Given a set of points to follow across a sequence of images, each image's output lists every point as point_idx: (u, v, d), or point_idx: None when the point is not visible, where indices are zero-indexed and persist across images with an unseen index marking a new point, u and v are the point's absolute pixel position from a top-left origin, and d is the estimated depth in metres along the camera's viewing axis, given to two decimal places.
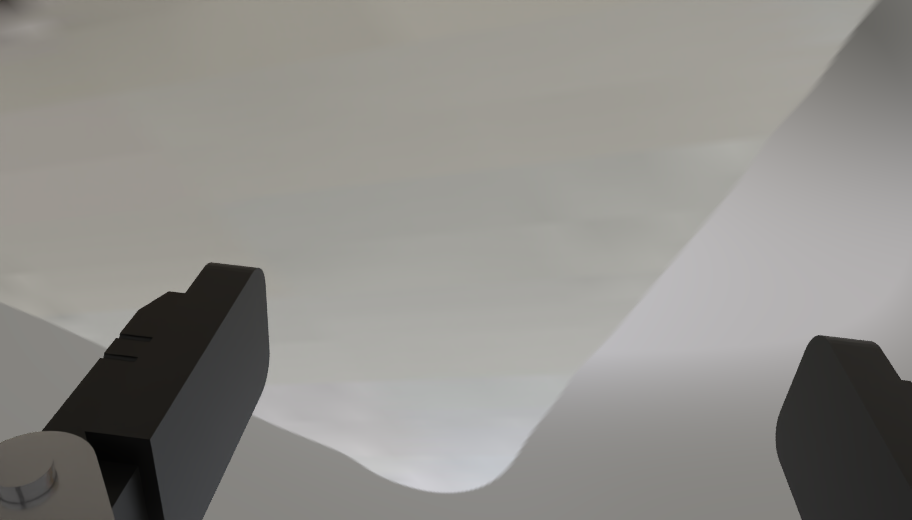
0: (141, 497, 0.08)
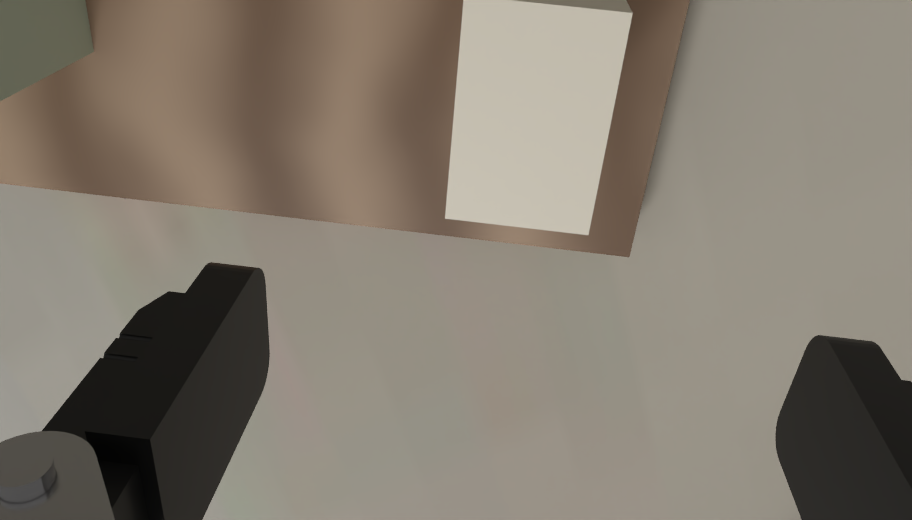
0: (141, 497, 0.08)
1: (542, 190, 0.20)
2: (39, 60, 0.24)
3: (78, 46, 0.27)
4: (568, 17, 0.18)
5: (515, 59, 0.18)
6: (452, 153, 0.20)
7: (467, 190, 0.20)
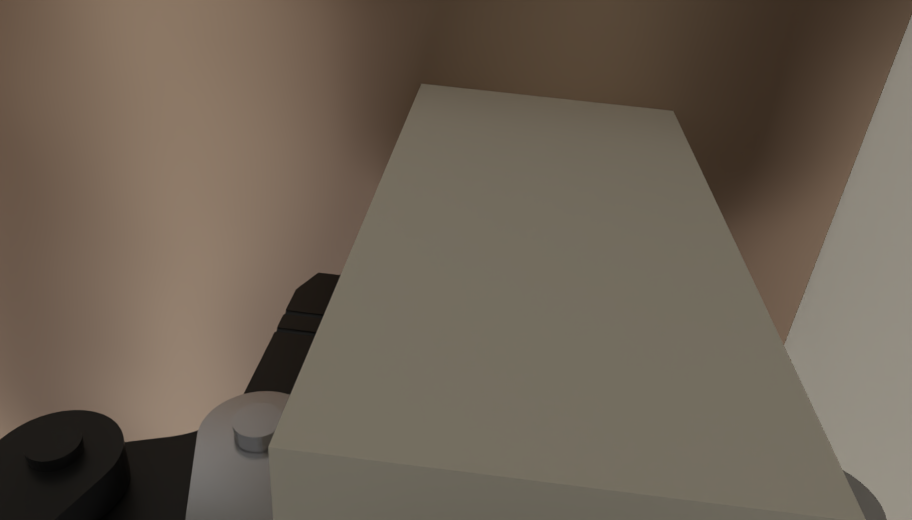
0: None
1: None
2: None
3: None
4: (634, 518, 0.05)
5: None
6: None
7: None
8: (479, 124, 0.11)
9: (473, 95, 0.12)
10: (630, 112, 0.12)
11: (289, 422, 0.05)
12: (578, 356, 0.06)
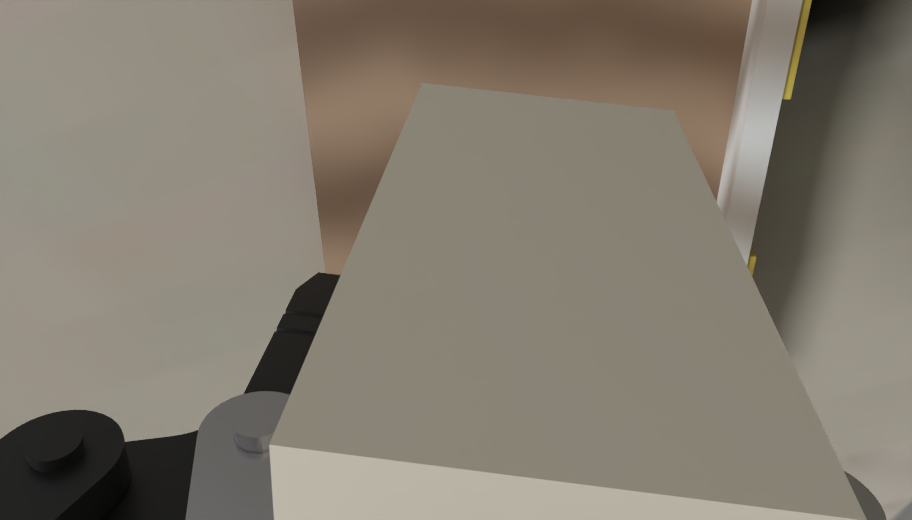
0: None
1: None
2: None
3: None
4: (636, 516, 0.05)
5: None
6: None
7: None
8: (480, 123, 0.11)
9: (473, 94, 0.12)
10: (631, 111, 0.12)
11: (290, 420, 0.05)
12: (578, 355, 0.06)
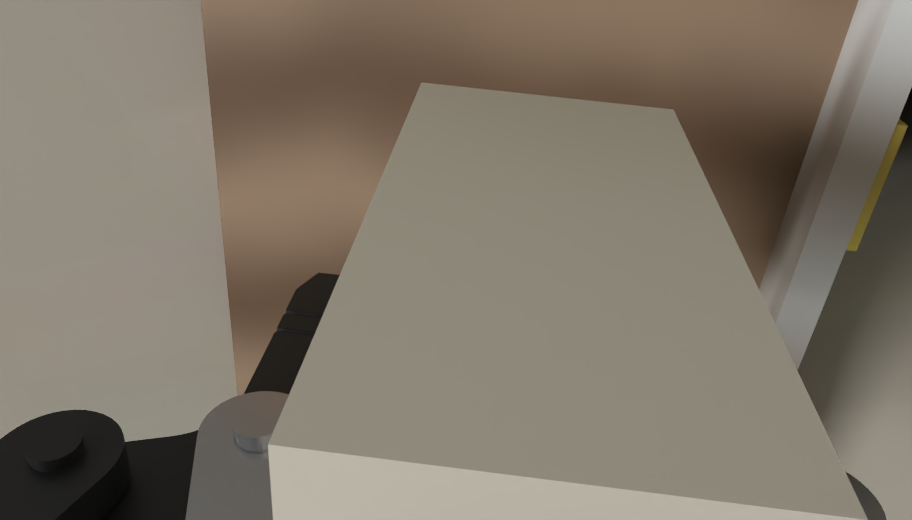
0: None
1: None
2: None
3: None
4: (637, 517, 0.05)
5: None
6: None
7: None
8: (479, 123, 0.11)
9: (473, 93, 0.12)
10: (630, 111, 0.12)
11: (289, 420, 0.05)
12: (578, 354, 0.06)
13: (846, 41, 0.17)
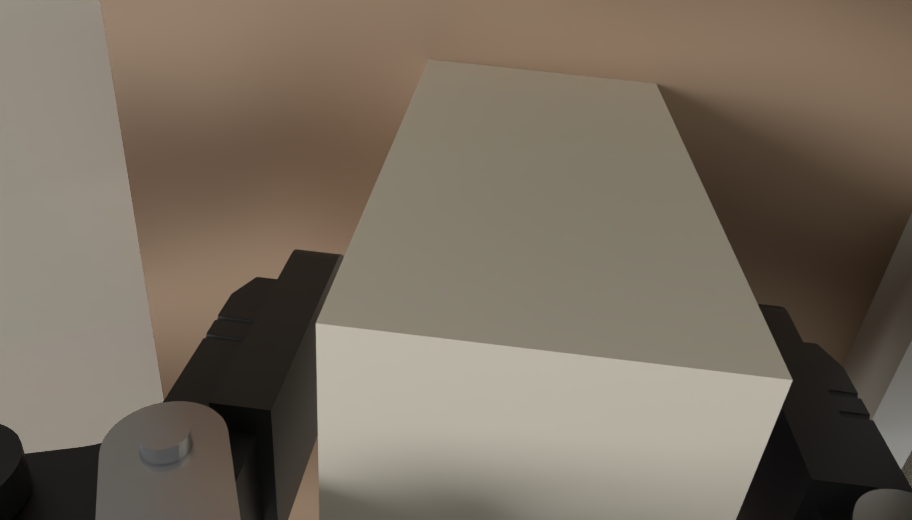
0: (258, 466, 0.08)
1: None
2: None
3: None
4: (610, 382, 0.06)
5: (466, 460, 0.07)
6: None
7: None
8: (481, 92, 0.12)
9: (476, 69, 0.13)
10: (617, 84, 0.13)
11: (331, 307, 0.07)
12: (565, 268, 0.07)
13: None
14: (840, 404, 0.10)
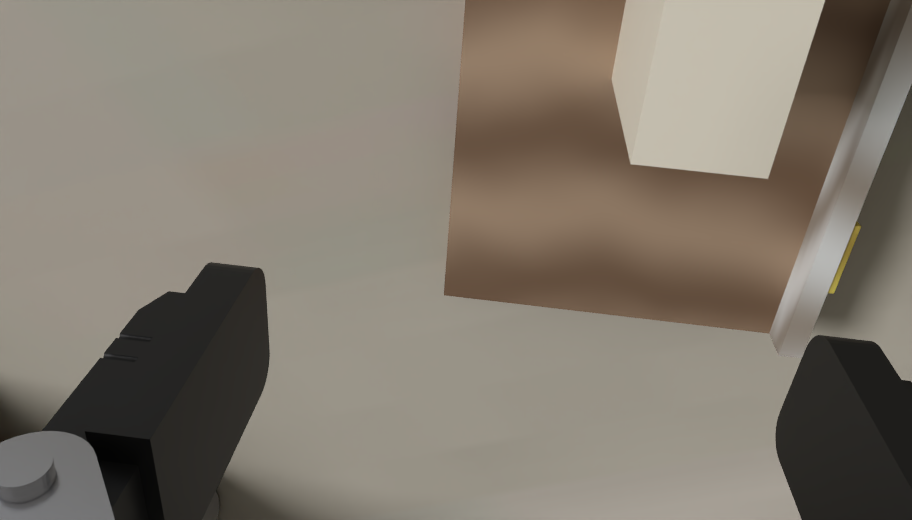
0: (141, 497, 0.08)
1: (728, 135, 0.21)
2: None
3: None
4: None
5: (718, 8, 0.20)
6: (645, 100, 0.21)
7: (656, 136, 0.22)
8: None
9: None
10: None
11: None
12: None
13: None
14: None
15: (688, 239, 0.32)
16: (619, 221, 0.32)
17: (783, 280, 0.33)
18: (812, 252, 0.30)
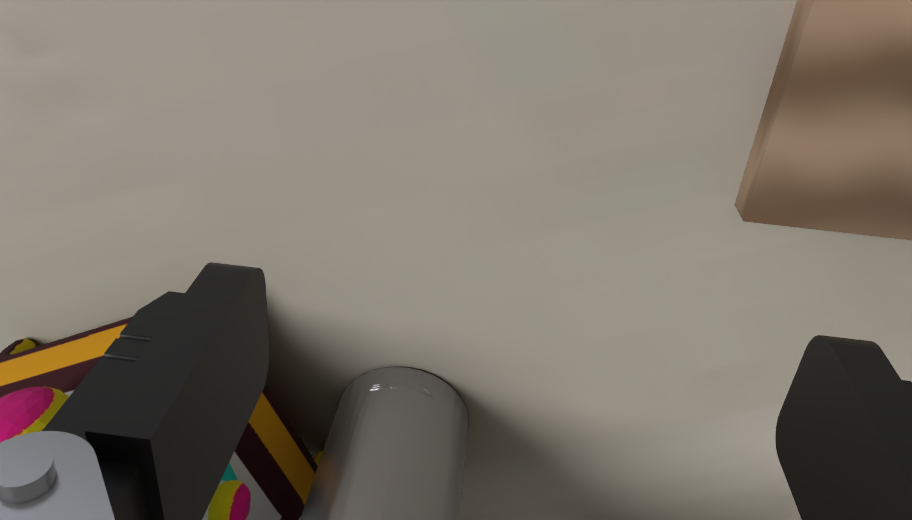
0: (141, 497, 0.08)
1: None
2: None
3: None
4: None
5: None
6: None
7: None
8: None
9: None
10: None
11: None
12: None
13: None
14: None
15: None
16: None
17: None
18: None
